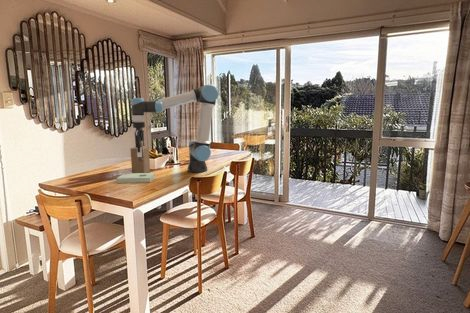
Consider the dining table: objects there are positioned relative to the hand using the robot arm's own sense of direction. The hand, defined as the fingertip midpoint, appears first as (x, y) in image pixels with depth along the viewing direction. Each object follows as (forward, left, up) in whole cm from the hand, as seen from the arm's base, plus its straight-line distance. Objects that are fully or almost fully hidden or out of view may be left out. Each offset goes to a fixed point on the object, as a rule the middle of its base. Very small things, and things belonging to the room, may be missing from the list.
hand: (140, 156), depth 202 cm
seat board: (+4, 0, -16) cm, 17 cm away
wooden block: (+6, -18, -17) cm, 25 cm away
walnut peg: (0, 0, -4) cm, 4 cm away
